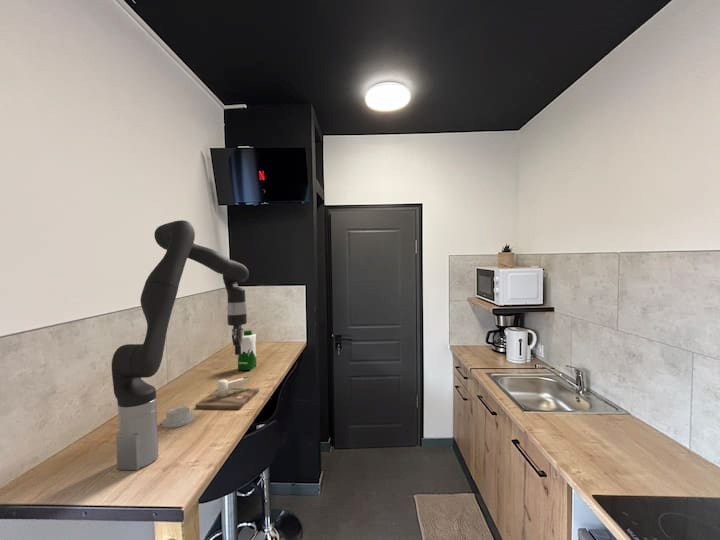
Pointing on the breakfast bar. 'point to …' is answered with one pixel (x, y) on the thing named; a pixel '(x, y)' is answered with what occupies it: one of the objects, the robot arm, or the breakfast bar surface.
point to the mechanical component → (177, 417)
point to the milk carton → (247, 351)
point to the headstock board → (228, 399)
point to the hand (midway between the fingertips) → (238, 354)
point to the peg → (229, 385)
